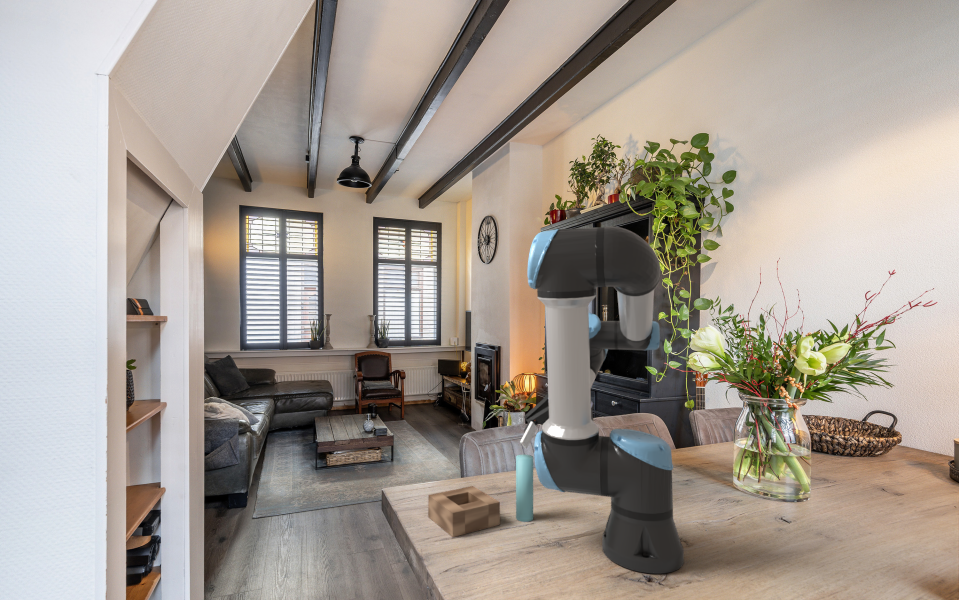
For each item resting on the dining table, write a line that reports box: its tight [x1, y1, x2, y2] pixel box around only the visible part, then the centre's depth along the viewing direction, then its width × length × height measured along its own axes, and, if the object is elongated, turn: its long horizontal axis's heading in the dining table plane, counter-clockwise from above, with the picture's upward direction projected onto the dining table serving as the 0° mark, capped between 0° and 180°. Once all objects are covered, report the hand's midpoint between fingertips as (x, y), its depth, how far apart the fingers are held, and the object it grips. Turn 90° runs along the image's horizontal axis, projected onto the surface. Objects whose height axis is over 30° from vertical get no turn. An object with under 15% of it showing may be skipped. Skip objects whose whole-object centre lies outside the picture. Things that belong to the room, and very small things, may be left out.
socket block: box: [427, 485, 501, 538], centre depth 105 cm, size 12×12×5 cm
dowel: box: [515, 454, 534, 523], centre depth 107 cm, size 4×4×14 cm
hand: (544, 450), depth 114 cm, fingers open, 13 cm apart
